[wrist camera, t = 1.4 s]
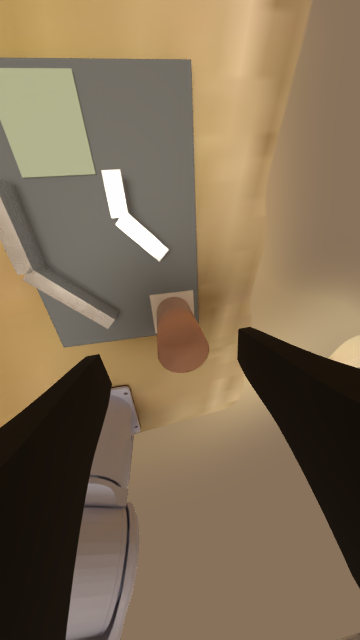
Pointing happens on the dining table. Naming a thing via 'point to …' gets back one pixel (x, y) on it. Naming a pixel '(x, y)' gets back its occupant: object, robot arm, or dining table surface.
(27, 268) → the rails
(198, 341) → the peg
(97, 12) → the dining table surface
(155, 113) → the board
